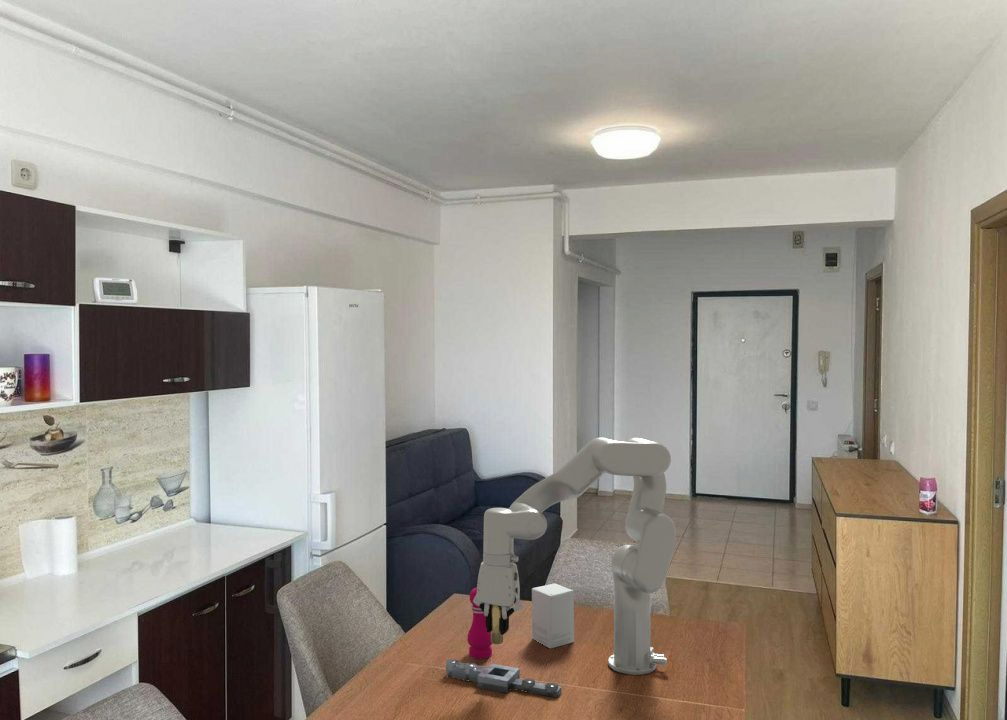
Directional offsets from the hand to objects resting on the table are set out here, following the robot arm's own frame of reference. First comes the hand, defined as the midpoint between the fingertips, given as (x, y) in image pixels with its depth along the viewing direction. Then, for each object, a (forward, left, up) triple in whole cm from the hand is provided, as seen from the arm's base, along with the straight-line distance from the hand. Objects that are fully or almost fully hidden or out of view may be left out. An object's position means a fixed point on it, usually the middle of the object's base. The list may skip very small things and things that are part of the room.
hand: (497, 631), depth 193 cm
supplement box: (-3, -32, -14) cm, 35 cm away
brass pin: (0, 0, -3) cm, 3 cm away
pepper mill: (+12, -15, -14) cm, 23 cm away
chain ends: (0, 0, -13) cm, 13 cm away
